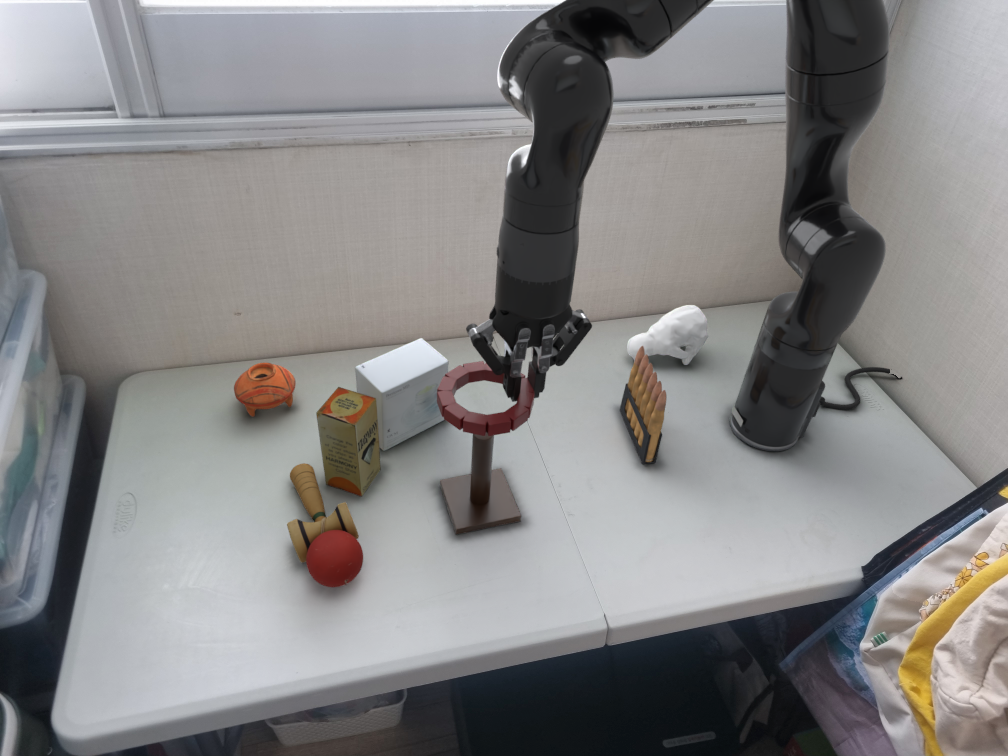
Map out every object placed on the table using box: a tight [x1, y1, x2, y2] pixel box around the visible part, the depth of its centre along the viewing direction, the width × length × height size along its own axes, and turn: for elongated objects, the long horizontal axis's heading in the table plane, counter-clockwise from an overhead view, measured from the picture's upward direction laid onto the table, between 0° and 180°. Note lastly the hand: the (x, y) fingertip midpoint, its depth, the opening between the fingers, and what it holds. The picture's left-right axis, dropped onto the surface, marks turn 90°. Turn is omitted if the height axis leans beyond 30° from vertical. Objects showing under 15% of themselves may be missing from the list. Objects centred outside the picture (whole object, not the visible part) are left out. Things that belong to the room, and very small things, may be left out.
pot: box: [233, 362, 296, 417], centre depth 103 cm, size 8×8×7 cm
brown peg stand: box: [439, 432, 522, 536], centre depth 90 cm, size 8×8×12 cm
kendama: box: [286, 463, 364, 588], centre depth 87 cm, size 8×6×18 cm
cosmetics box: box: [354, 337, 450, 452], centre depth 100 cm, size 10×6×10 cm, turn 131°
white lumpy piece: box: [626, 304, 709, 366], centre depth 115 cm, size 6×8×12 cm
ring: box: [437, 360, 535, 436], centre depth 82 cm, size 10×10×2 cm
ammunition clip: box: [619, 346, 667, 465], centre depth 100 cm, size 11×2×12 cm, turn 10°
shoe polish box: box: [316, 386, 382, 498], centre depth 92 cm, size 5×5×12 cm
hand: (523, 394), depth 84 cm, fingers closed on ring, 1 cm apart
